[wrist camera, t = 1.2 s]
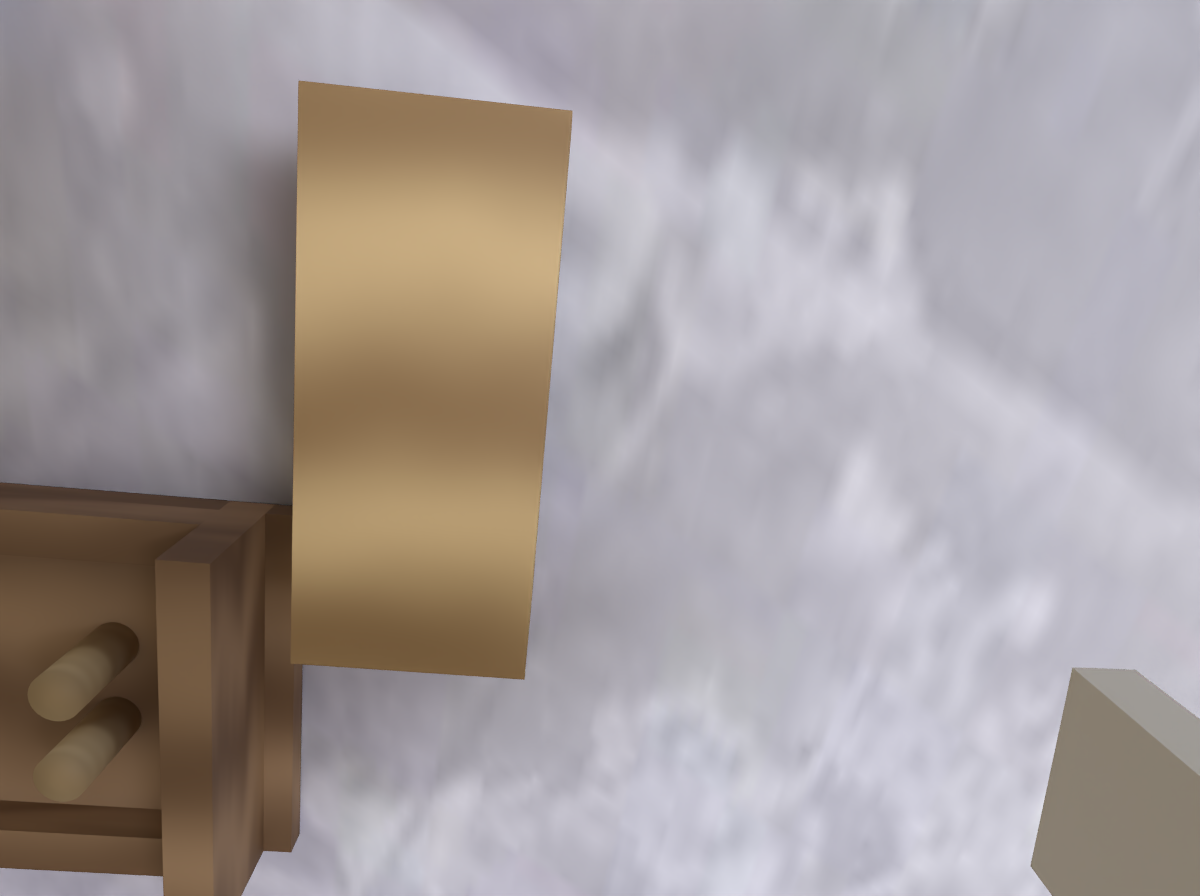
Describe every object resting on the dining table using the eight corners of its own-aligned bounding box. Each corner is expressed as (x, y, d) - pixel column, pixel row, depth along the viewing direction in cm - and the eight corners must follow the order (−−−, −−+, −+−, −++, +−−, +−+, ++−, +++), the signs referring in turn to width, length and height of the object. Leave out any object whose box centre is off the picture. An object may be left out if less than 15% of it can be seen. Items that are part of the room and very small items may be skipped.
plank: (344, 108, 22) (298, 80, 18) (571, 133, 23) (572, 110, 19) (332, 599, 26) (290, 663, 22) (530, 614, 26) (524, 679, 22)
